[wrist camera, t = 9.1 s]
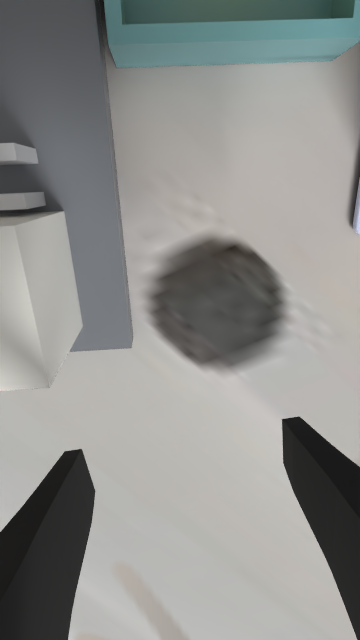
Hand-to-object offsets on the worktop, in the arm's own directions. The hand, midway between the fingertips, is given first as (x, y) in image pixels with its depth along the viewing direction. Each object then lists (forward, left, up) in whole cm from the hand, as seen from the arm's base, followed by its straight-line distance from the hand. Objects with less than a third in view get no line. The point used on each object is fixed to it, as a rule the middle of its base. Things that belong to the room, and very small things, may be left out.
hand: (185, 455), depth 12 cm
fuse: (+7, -5, -8) cm, 12 cm away
